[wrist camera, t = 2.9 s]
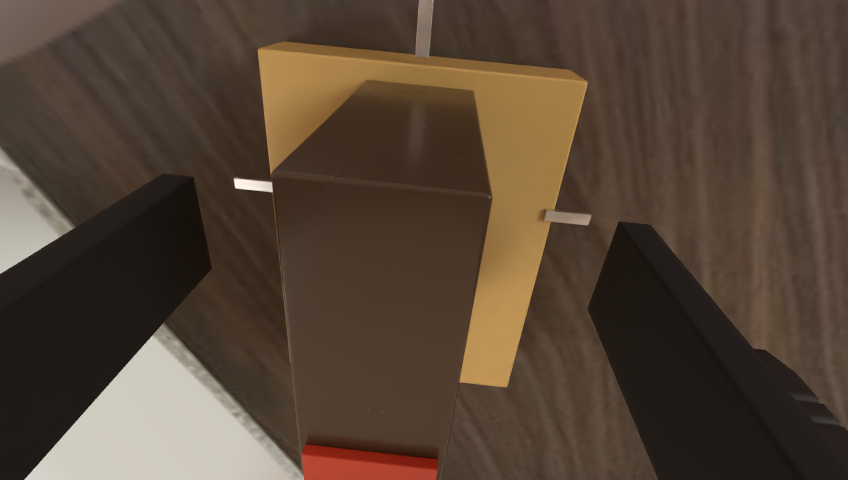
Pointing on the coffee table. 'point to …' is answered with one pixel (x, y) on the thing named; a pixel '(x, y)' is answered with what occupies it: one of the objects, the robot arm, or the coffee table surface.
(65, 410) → the robot arm
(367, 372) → the lock turn
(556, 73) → the plate
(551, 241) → the coffee table surface
